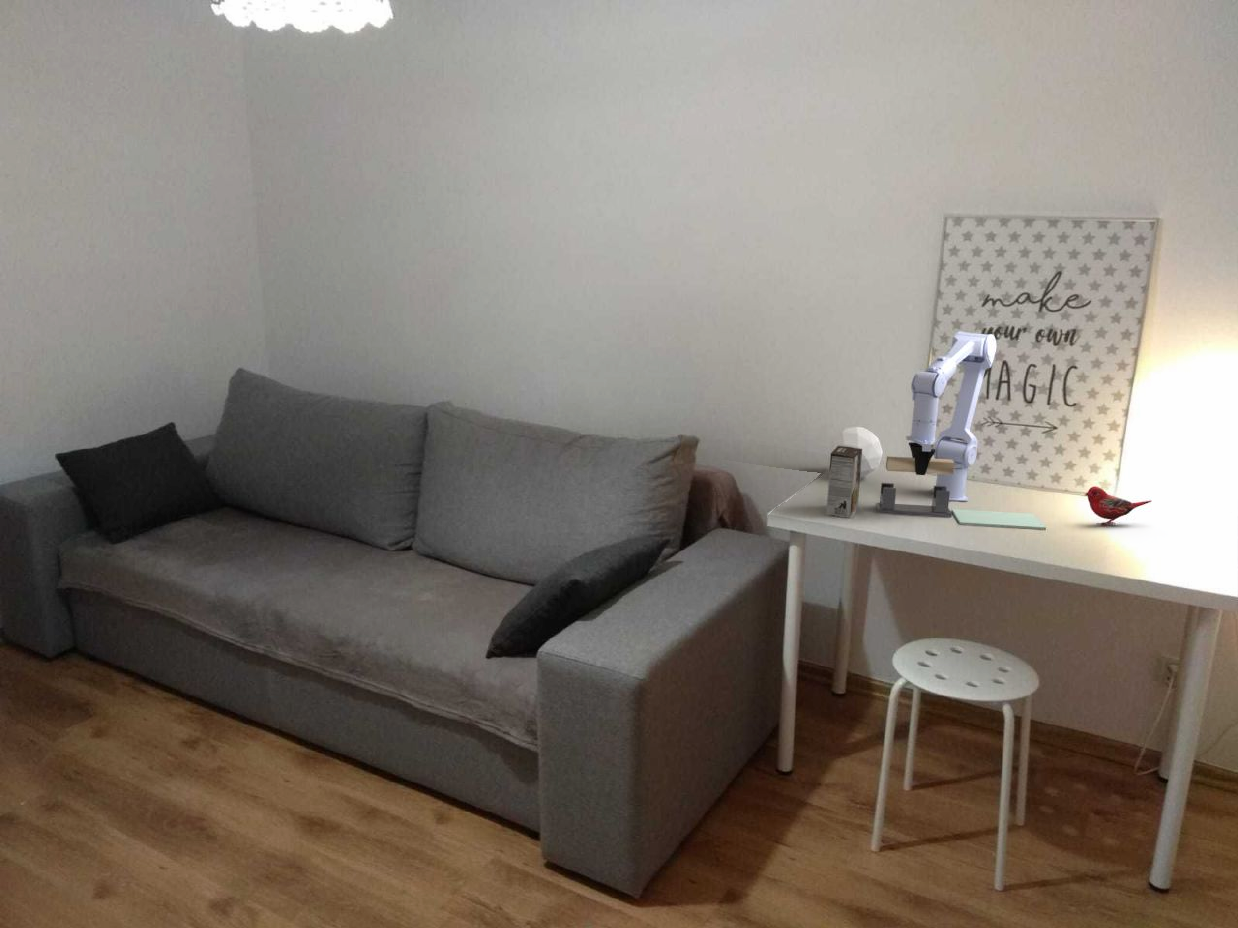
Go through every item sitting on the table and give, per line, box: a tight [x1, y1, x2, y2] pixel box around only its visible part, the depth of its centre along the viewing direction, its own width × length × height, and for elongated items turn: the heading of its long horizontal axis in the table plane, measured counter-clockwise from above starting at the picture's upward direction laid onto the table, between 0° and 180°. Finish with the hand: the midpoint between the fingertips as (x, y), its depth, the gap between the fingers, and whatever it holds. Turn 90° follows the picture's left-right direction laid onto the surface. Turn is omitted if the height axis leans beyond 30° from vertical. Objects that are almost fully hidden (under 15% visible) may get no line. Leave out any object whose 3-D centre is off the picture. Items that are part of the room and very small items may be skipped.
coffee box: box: [825, 446, 862, 519], centre depth 238 cm, size 9×6×16 cm
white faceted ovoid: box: [828, 426, 884, 479], centre depth 272 cm, size 14×15×20 cm
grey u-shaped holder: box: [874, 482, 953, 518], centre depth 240 cm, size 6×18×6 cm, turn 81°
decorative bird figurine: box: [1084, 486, 1152, 526], centre depth 232 cm, size 3×18×10 cm, turn 95°
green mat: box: [951, 508, 1047, 531], centre depth 235 cm, size 11×20×1 cm, turn 81°
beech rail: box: [885, 456, 954, 475], centre depth 238 cm, size 3×16×3 cm, turn 81°
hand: (919, 472), depth 238 cm, fingers closed on beech rail, 3 cm apart
